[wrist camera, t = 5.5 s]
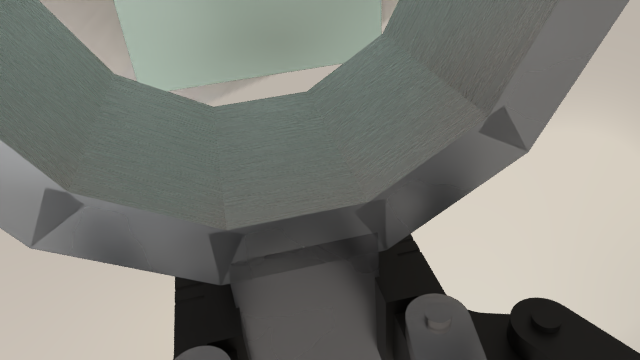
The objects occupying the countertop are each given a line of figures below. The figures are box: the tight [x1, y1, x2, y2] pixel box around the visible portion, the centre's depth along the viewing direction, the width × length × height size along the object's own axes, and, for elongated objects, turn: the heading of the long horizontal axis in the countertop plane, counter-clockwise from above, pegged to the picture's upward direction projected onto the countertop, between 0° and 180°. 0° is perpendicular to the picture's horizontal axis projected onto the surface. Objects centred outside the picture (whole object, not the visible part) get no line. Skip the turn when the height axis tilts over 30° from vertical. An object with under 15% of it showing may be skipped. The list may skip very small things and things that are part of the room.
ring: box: [0, 0, 629, 360], centre depth 11 cm, size 12×18×6 cm
